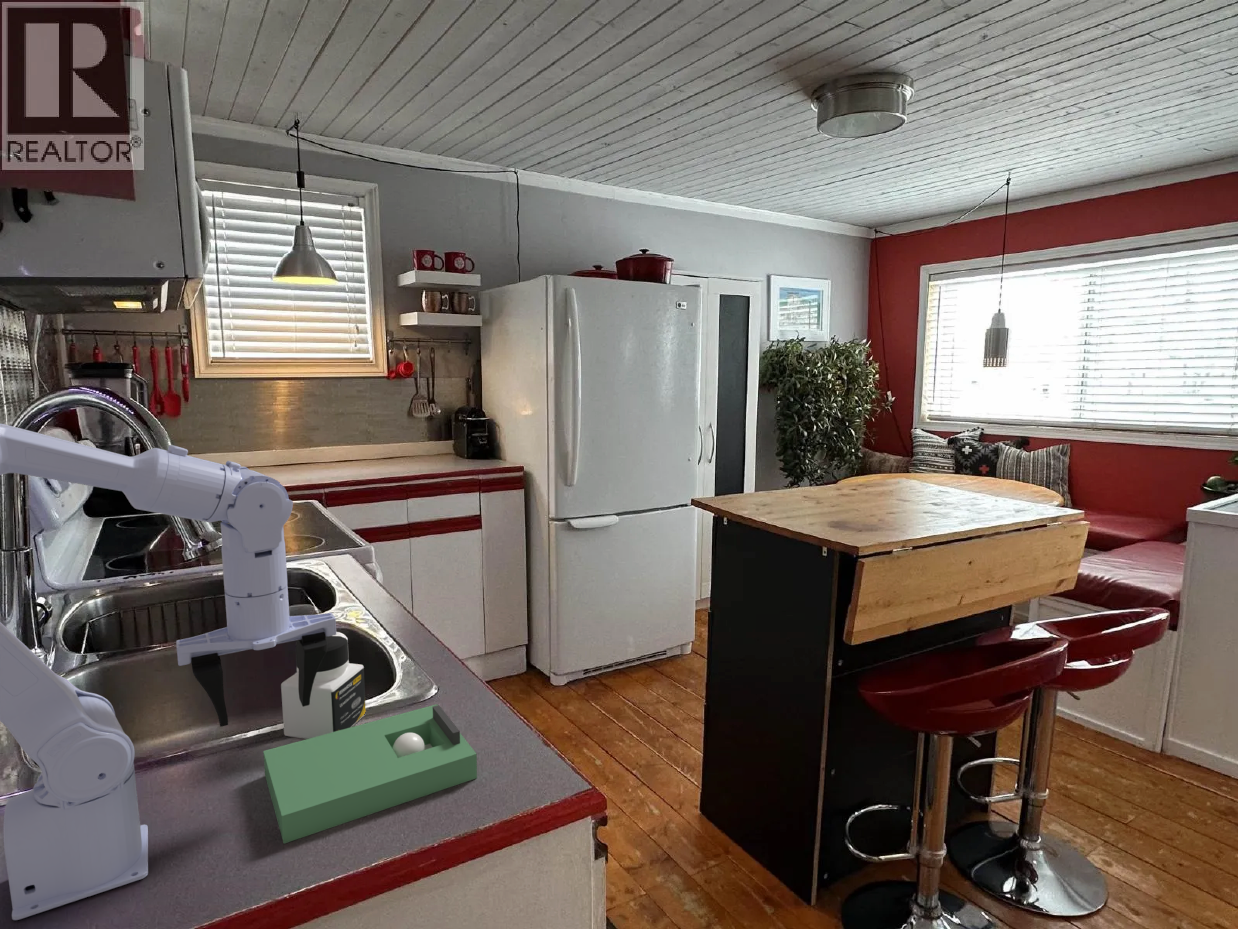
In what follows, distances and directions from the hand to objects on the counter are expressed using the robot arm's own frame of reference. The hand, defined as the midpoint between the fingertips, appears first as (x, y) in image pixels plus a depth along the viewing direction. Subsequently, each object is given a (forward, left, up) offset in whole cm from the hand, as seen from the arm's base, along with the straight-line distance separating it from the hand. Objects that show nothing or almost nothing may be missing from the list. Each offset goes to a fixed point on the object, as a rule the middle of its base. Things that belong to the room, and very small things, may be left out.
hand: (265, 711), depth 74 cm
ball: (+14, -2, -8) cm, 16 cm away
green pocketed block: (+10, -2, -10) cm, 14 cm away
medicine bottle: (+8, +12, -10) cm, 18 cm away
